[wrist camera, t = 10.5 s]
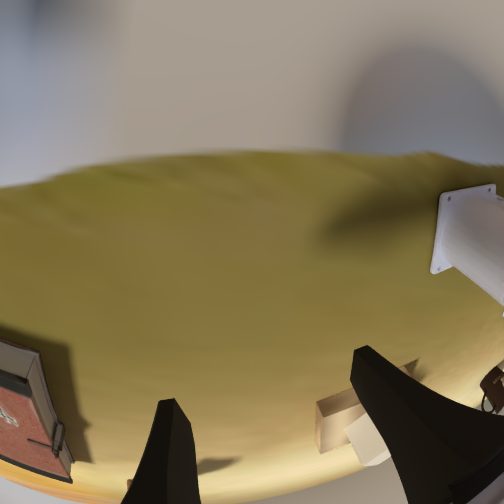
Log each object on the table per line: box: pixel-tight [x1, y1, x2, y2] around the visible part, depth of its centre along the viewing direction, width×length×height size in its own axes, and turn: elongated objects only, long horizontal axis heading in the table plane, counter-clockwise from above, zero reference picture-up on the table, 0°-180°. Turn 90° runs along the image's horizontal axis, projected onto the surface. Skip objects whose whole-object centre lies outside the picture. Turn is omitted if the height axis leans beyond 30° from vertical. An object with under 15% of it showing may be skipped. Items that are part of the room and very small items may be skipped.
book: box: [0, 338, 74, 484], centre depth 20 cm, size 26×18×5 cm
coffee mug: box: [480, 366, 504, 415], centre depth 43 cm, size 12×9×10 cm
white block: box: [344, 412, 391, 466], centre depth 29 cm, size 4×4×6 cm
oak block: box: [315, 366, 412, 454], centre depth 33 cm, size 12×12×3 cm
